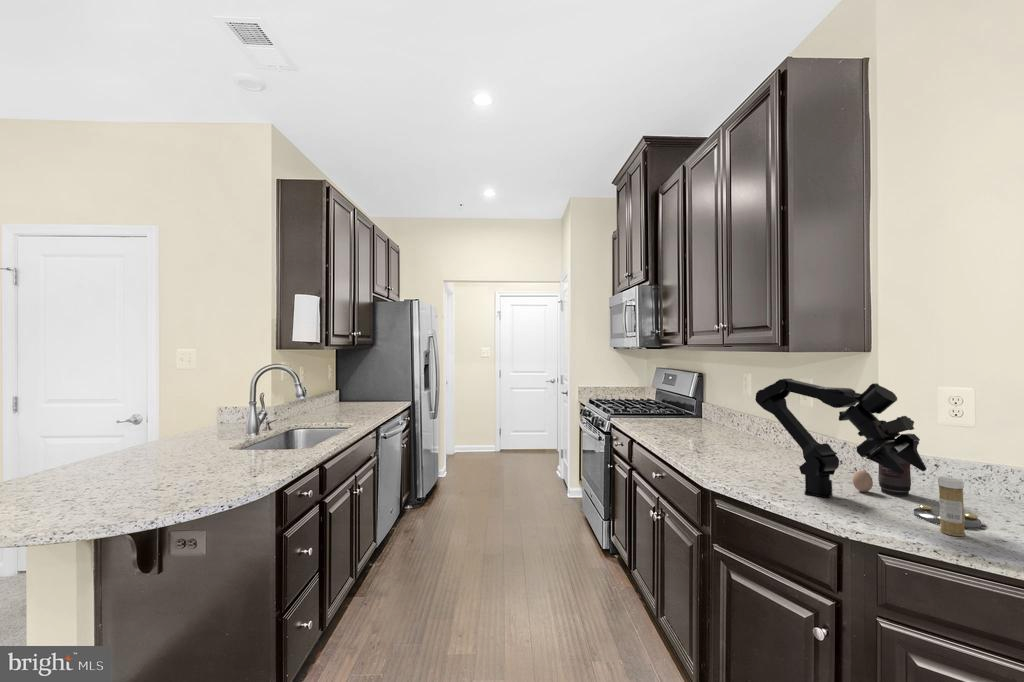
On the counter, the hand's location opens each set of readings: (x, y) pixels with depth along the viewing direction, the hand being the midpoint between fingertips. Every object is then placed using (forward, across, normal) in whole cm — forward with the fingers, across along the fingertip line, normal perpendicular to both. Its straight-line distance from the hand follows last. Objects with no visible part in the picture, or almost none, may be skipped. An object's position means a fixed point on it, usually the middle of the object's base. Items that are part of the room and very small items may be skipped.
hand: (914, 472), depth 119 cm
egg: (-6, +16, +25) cm, 31 cm away
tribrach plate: (+10, +10, +8) cm, 17 cm away
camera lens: (-3, +24, +22) cm, 32 cm away
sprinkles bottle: (+15, 0, +4) cm, 15 cm away
